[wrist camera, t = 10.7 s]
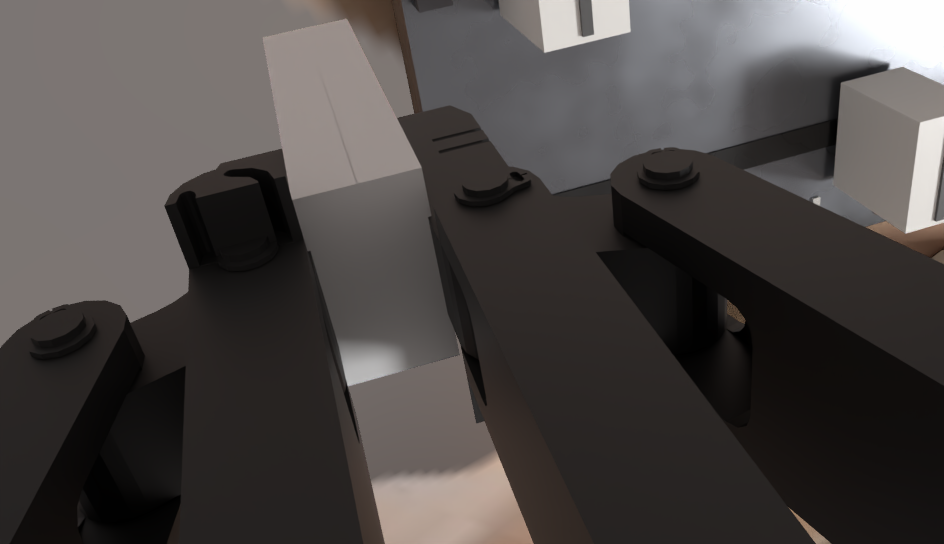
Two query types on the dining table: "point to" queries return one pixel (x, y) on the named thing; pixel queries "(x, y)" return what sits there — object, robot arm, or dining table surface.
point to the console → (670, 84)
